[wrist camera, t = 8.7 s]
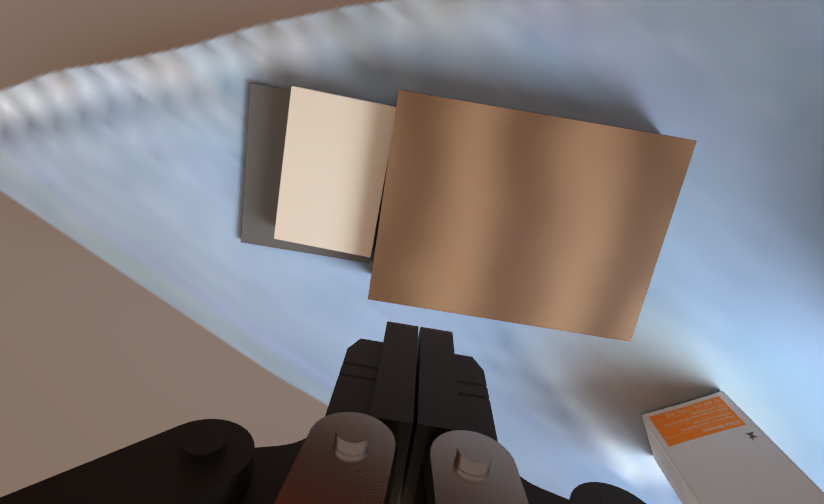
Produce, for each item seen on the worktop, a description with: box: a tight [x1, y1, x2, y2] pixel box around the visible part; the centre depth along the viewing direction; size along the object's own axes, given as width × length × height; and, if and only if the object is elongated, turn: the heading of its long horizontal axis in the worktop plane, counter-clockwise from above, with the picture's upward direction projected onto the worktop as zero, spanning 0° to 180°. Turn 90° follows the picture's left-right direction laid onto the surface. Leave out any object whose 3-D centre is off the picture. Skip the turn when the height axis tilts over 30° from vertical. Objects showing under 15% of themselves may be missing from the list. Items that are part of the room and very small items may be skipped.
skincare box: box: [642, 391, 824, 504], centre depth 30 cm, size 6×4×12 cm
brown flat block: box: [368, 90, 696, 341], centre depth 29 cm, size 16×12×4 cm
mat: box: [241, 83, 370, 263], centre depth 31 cm, size 8×10×1 cm
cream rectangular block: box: [274, 86, 396, 257], centre depth 30 cm, size 6×9×2 cm, turn 169°
